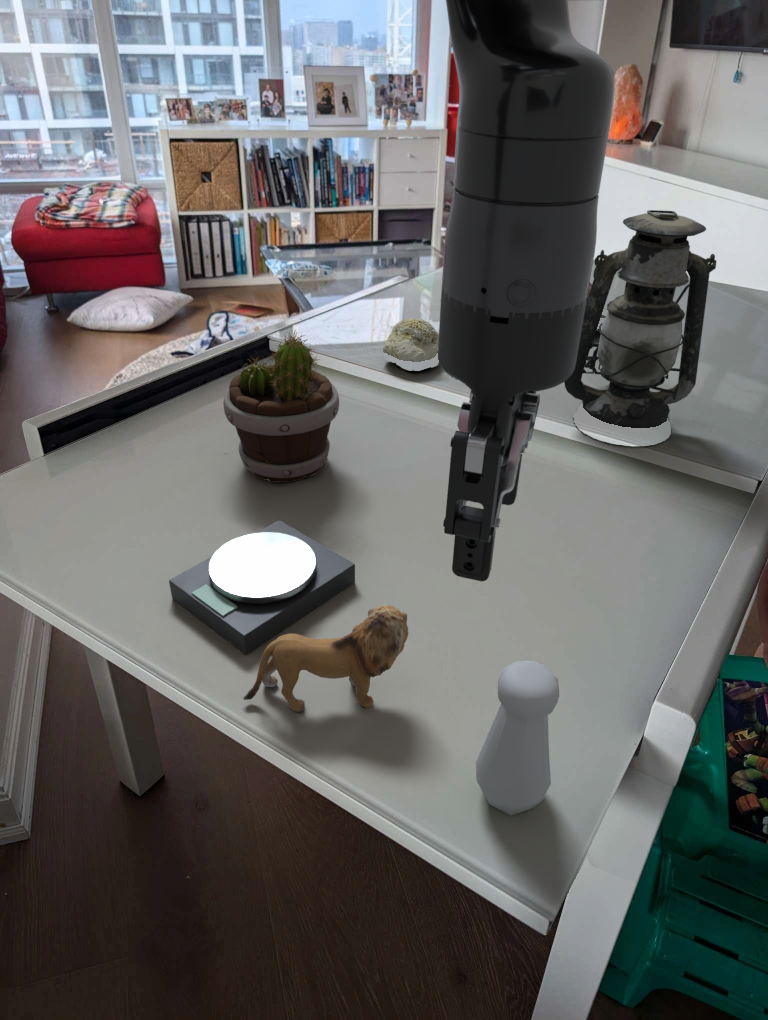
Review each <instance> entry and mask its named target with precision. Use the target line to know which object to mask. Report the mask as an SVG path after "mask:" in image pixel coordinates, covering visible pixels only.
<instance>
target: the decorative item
mask: <svg viewBox="0 0 768 1020" xmlns="http://www.w3.org/2000/svg"><path fill="white" fill-rule="evenodd" d="M438 341H439V332H438V331H437V330H436V328H435V327H434V326H433V325H432V324H431V323H430V322H428V321H426V320H425V319H422V318H413V317H410V318H405V319H402V320H400V321H398V322H397V323H395V325H394V326H393V327H392V329H391V333H389V335H388V336H387V338H386V339H385V342H384V345H383V347H382V353H383V352H384V353H387V354H388V355H391V356H393V357H395V358H397V359H399V360H403V361H412V362H421V361H425V360H430V359H432V358H434V357H435V356H436V354H437V353H438Z"/></svg>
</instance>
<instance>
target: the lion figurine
mask: <svg viewBox="0 0 768 1020" xmlns="http://www.w3.org/2000/svg"><path fill="white" fill-rule="evenodd" d="M408 637H409V627H408V614H407V612H405V611H401V609H400V608H396V607H394V606H392V605H391V604H385V605H380V606H374V607H372V608H368V611H367V616H366V617H365V618H364V620H363V621H362V622H360V623H359V624H356V625H355V626H354V627H353V628H352V631H351V632H350V633H348V634H347V635H345V636H343V637H337V638H311V637H308V636H305V635H302V634H298V633H285V634H282V635H280V636H278V637H276V639H274V640H273V641H271V642H270V643H269V644H267V646H266V647H265V649H264V651H263V653H262V655H261V658H260V661H259V665H258V670H257V674H256V675H257V676H256V680H255V682H254V685H253V686H252V688H251V689H250V690H249V691H248V692H247V693H246V695H244V696H243V700H244V701H247V700H248V701H249V700H252V699H253V698H254V697H256V695H257V693H258V691H259V689H260V687H261V685H262V684H263V685H264V687H267V688H274V687H276V686H277V685H278V683H279V682H278V678H276V676H273V675H272V674H273V673H275V672H276V671H277V674H278V676H279V677H280V680H281V682H282V686H281V690H280V692H281V695H282V696H283V698H284V699H285V700H286V702H287V704H288V706H289V708H290V709H291V710H292V711H294V712H295V713H300V712H303V711H304V710H305V707H306V705H305V701H304V700H303V699H302V698H301V699H300V698H296V697H295V696H294V688H295V687H296V684H297V683H298V681H299V678H300V672H301V671H306V672H308V673H310V674H312V675H313V676H314V675H315V676H317V677H318V678H324V679H334V680H335V679H336V680H337V679H343V678H348V681H349V682H350V684H351V685H352V686H354V687H355V692H356V693H355V696H356V699H357V701H358V703H359V705H360V706H361V707H363V708H366V709H369V708H371V707H373V704H374V698H373V696H372V695H368V692H369V691H370V690H369V689H370V685H371V678H375V677H379V676H381V675H382V674H383V673H384V672H386V671H389V670H390V669H391V668H392V666H393V665H394V664H395V661H396V659H397V658H398V656H399V655H400V654H401V653H402V652H403V651H404V648H405V643H406V642H407V639H408Z"/></svg>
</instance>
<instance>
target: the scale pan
mask: <svg viewBox="0 0 768 1020" xmlns="http://www.w3.org/2000/svg"><path fill="white" fill-rule="evenodd" d="M211 557H212V558H211ZM211 557H210V558H211V560H210V562H209V567H208V571H209V578H210V581H211V583H212V585H213V587H214V588H215V589H216V590H217V591H218V592H219V593H221V594H222V595H224V596H225V597H227V598H230V599H232V600H235V601H239V602H244V603H254V604H261V603H271V602H276V601H280V600H283V599H286V598H289V597H291V596H293V595H295V594H297V593H299V592H300V591H302V590H303V589H304V588H305V587H307V586H308V585H309V583H310V582H311V581H312V579H313V578H314V576H315V573H316V568H317V566H316V556H315V553H314V552H313V550H312V549H311V547H310V546H309V545H308V544H307V543H305V542H304V541H302V540H301V539H299V538H297V537H294V536H292V535H288V534H284V533H277V532H259V533H256V532H253V533H248V534H244V535H240V536H238V537H235V538H233V539H231V540H229V541H227V542H225V543H223V545H221V546H220V547H219V548H217V550H215V552H214V553H213V554H212V556H211Z"/></svg>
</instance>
